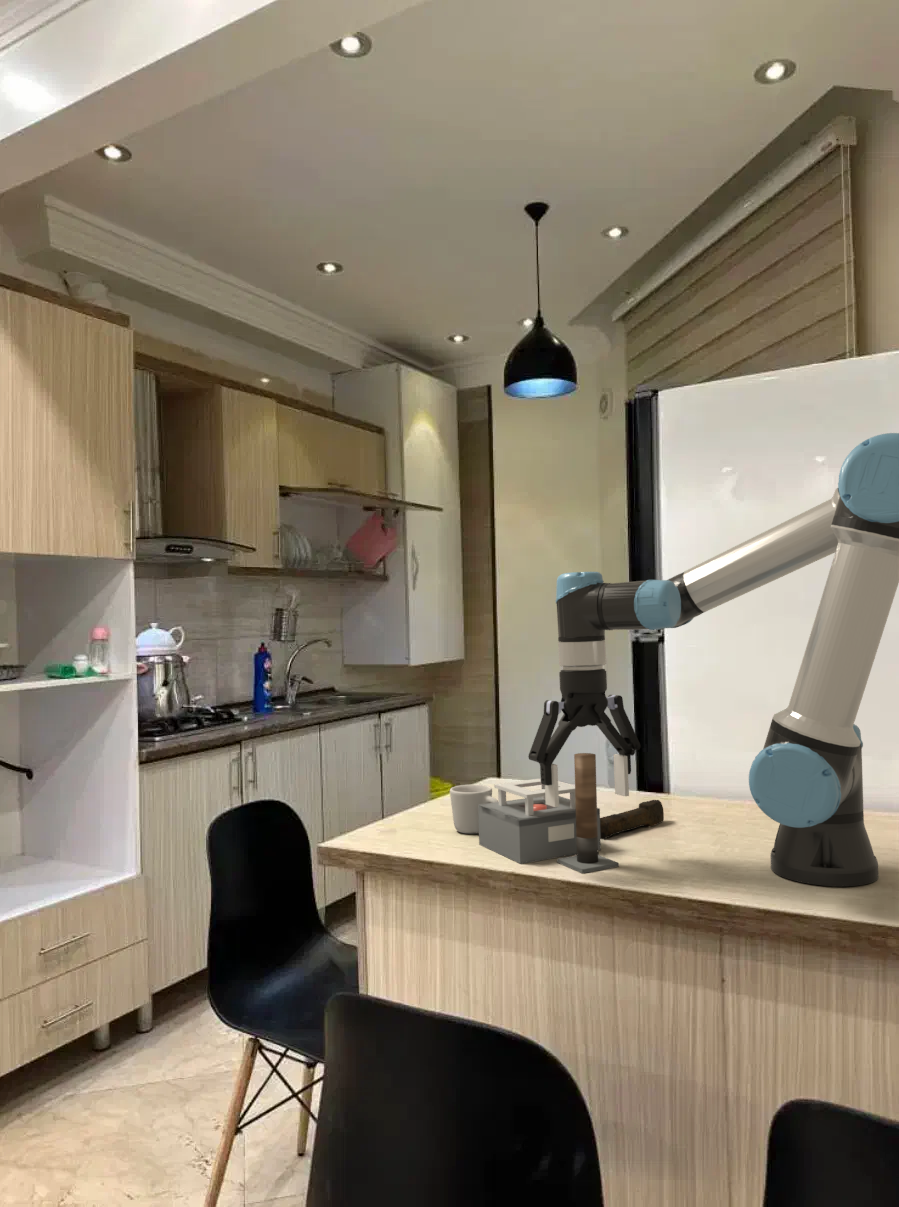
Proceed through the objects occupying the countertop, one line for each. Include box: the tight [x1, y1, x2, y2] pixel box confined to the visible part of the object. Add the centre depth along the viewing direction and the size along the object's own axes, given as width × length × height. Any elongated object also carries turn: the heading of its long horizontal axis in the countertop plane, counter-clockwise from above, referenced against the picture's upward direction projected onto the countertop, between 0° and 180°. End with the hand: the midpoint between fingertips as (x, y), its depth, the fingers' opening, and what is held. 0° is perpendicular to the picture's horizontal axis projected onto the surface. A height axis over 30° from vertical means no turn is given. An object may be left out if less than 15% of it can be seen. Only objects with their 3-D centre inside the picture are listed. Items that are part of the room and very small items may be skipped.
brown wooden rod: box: [573, 752, 599, 864], centre depth 141 cm, size 3×3×17 cm
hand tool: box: [600, 799, 665, 840], centre depth 163 cm, size 19×4×5 cm, turn 127°
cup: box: [449, 784, 499, 835], centre depth 164 cm, size 11×8×8 cm
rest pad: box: [556, 854, 620, 874], centre depth 141 cm, size 7×7×1 cm
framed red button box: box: [478, 777, 602, 865], centre depth 152 cm, size 14×16×11 cm
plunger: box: [533, 804, 547, 811], centre depth 152 cm, size 3×3×7 cm
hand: (587, 800), depth 141 cm, fingers open, 13 cm apart
